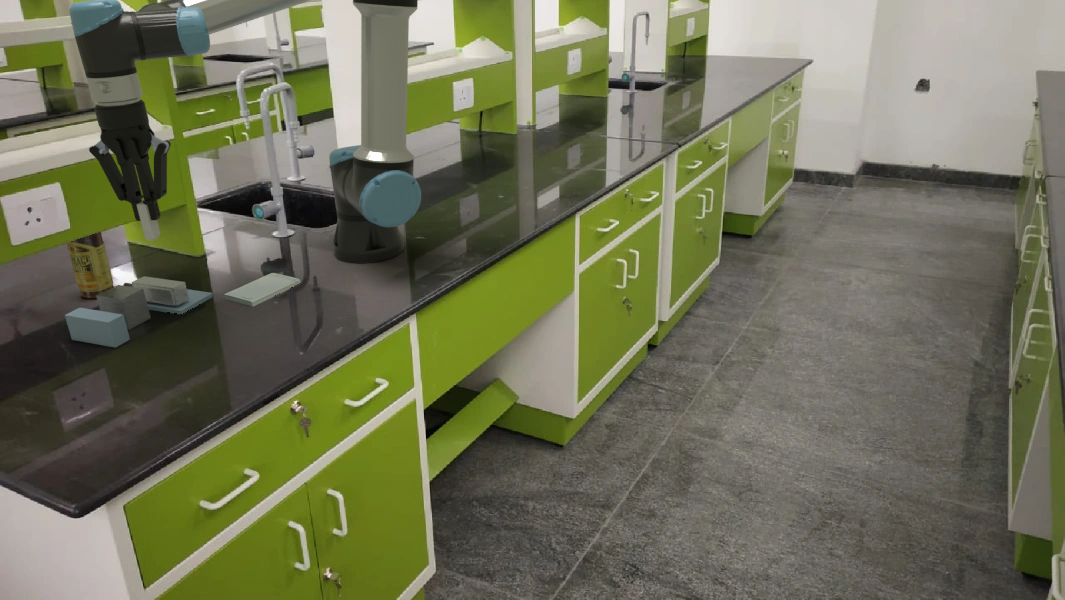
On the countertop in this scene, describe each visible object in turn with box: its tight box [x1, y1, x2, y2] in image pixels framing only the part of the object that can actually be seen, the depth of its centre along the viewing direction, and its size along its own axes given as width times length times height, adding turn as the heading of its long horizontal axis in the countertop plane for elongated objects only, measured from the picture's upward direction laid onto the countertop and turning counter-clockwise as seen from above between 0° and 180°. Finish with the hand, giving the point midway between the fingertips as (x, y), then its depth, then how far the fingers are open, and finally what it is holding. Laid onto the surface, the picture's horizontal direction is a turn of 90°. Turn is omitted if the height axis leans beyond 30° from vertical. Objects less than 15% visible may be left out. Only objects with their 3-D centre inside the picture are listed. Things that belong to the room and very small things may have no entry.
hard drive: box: [222, 272, 302, 308], centre depth 159 cm, size 2×8×12 cm
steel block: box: [96, 284, 152, 331], centre depth 147 cm, size 6×5×6 cm
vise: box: [64, 288, 214, 348], centre depth 149 cm, size 13×23×5 cm, turn 159°
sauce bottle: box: [66, 231, 115, 299], centre depth 156 cm, size 7×6×20 cm
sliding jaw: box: [122, 275, 189, 306], centre depth 153 cm, size 14×3×4 cm, turn 69°
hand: (153, 237), depth 142 cm, fingers closed
